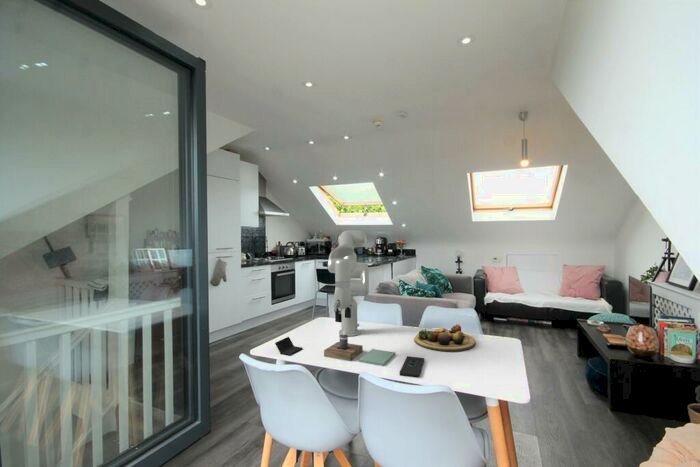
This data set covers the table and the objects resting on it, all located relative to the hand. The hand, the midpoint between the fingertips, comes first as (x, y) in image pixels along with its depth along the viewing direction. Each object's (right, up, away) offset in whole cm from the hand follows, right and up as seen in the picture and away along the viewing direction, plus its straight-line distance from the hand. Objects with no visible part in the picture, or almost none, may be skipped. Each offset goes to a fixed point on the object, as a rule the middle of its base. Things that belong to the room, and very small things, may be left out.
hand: (343, 319), depth 161 cm
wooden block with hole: (0, -17, 0) cm, 17 cm away
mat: (+16, -17, -6) cm, 24 cm away
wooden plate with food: (+54, -17, +17) cm, 59 cm away
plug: (0, -17, 0) cm, 17 cm away
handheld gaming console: (-28, -18, +5) cm, 33 cm away
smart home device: (+31, -17, -17) cm, 39 cm away
